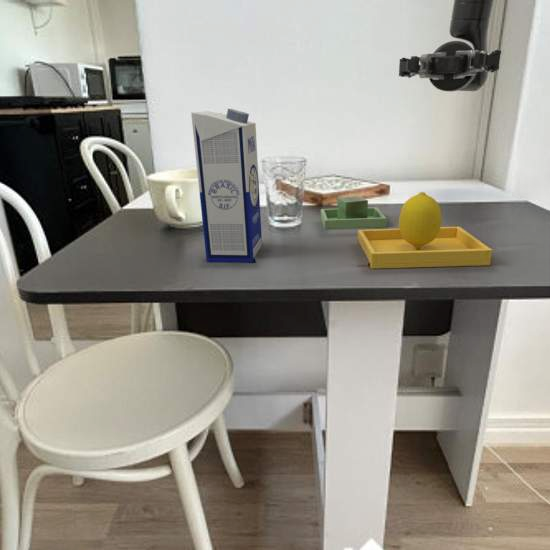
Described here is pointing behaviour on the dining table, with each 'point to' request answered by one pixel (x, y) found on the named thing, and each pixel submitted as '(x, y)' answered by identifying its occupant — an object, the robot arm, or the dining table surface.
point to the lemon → (420, 220)
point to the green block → (352, 207)
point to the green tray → (353, 220)
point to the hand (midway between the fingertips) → (444, 61)
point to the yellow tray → (423, 249)
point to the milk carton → (228, 185)
